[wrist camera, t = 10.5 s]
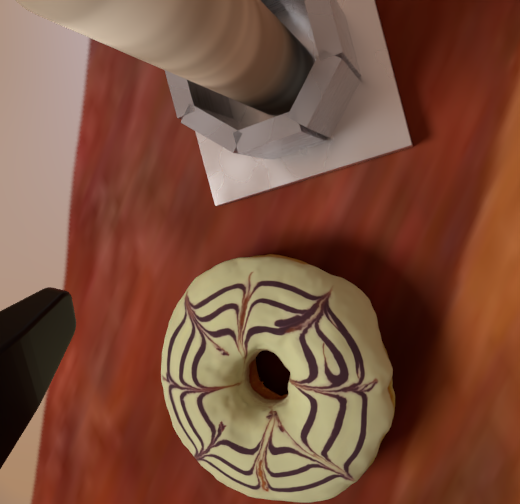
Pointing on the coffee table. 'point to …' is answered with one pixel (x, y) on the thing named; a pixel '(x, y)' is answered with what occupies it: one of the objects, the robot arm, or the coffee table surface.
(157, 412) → the coffee table surface
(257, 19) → the wooden post
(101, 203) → the coffee table surface
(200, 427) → the decorated donut
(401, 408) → the coffee table surface
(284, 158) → the cup bracket
